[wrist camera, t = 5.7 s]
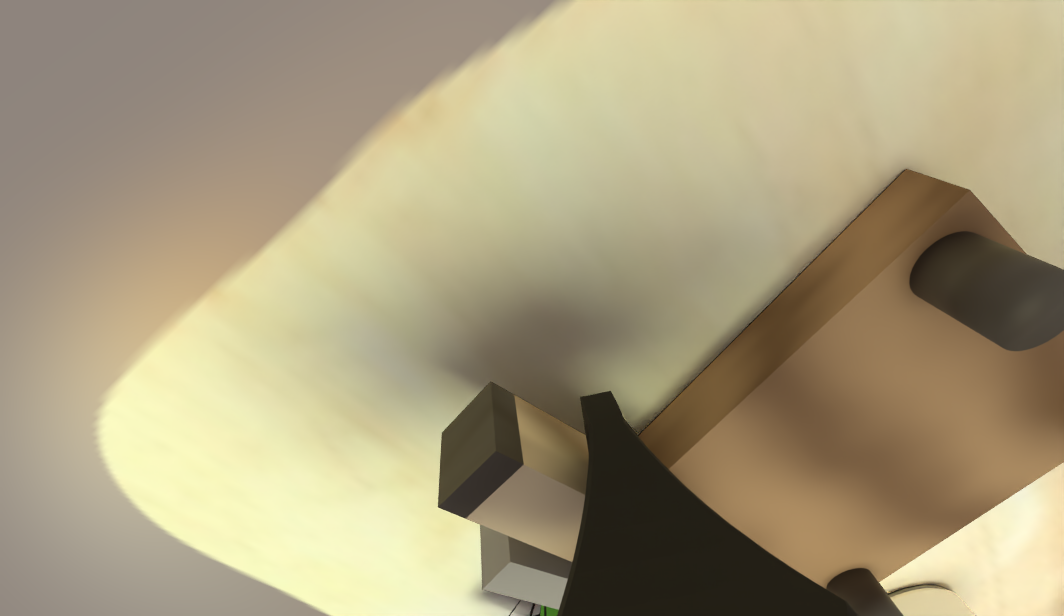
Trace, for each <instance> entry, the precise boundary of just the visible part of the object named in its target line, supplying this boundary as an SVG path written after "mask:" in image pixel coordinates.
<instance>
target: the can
mask: <svg viewBox="0 0 1064 616" xmlns="http://www.w3.org/2000/svg"><path fill="white" fill-rule="evenodd" d="M888 596H889V597H890V598H891V600H892V601H893V602H894V604H895V605H896V606H897V608H898V609H899V610H900V612H901V613H902V614H903V616H976V615H975V613H974V612H973V611H972V610H971V609H970V608H969V607H968V606H967V604H966V603H965V602H964V601H963V600H962V599H961V598H960V597H959V596H958V595H957V594H956V593H954V592H952V591H949V590H946V589H945V588H943V587H940V586H935V585H921V586H914V587H910V588H906V589H902V590H899V591H896V592H893V593H891V594H888Z"/></svg>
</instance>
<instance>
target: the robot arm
mask: <svg viewBox="0 0 1064 616" xmlns="http://www.w3.org/2000/svg"><path fill="white" fill-rule="evenodd" d="M580 399H581V406H582V412H583V419H584V426H585V433H586V439H587V446H588V452H589V462H588V474H587V484H586V493H585V500H584V507H583V513H582V519H581V524H580V530H579V535H578V539H577V544H576V548H575V553H574V557H573V561H572V565H571V569H570V573H569V576H568V580H567V583H566V587H565V590H564V594H563V597H562V601H561V604H560V607H559V611H558V614H557V616H859V615H858V614H857V613H856V612H855V611H854V609H853V608H852V607H851V606H850V605H849V604H848V602H847V601H845V600H844V599H842V598H840V597H839V596H837V595H835V594H834V593H832V592H830V591H829V590H827V589H825V588H824V587H822V586H820V585H819V584H817V583H815V582H814V581H812V580H811V579H809V578H807V577H806V576H804V575H803V574H801V573H799V572H798V571H796V570H795V569H793V568H792V567H790V566H789V565H787V564H786V563H784V562H783V561H781V560H780V559H778V558H777V557H775V556H774V555H772V554H771V553H769V552H768V551H766V550H765V549H764V548H762V547H761V546H760V545H758V544H757V543H755V542H754V541H753V540H751V539H750V538H749V537H747V536H746V535H745V534H743V533H742V532H741V531H739V530H738V529H736V528H735V527H734V526H732V525H731V524H730V523H728V522H727V521H726V520H725V519H723V518H722V517H721V516H720V515H719V514H717V513H716V512H715V511H714V510H712V509H711V508H710V507H709V506H708V505H706V504H705V503H704V502H703V501H702V500H701V499H700V498H698V497H697V496H696V495H695V494H694V493H693V492H692V491H691V490H689V489H688V488H687V487H686V486H685V485H684V484H683V483H682V482H681V481H680V480H679V479H678V478H677V477H676V476H675V475H674V474H673V473H672V472H671V471H670V470H669V469H668V468H667V467H666V466H665V465H664V464H663V463H662V462H661V461H660V460H659V459H658V458H657V457H656V456H655V455H654V454H653V453H652V451H651V450H650V449H649V448H648V447H647V446H646V445H645V444H644V442H643V441H642V440H641V439H640V438H639V437H638V436H637V434H636V433H635V432H634V431H633V430H632V428H631V427H630V426H629V424H628V423H627V422H626V421H625V419H624V418H623V417H622V414H621V410H620V408H619V406H618V404H617V402H616V400H615V398H614V396H613V394H612V393H611V391H608V392H603V393H598V394H593V395H588V396H583V397H580Z"/></svg>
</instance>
